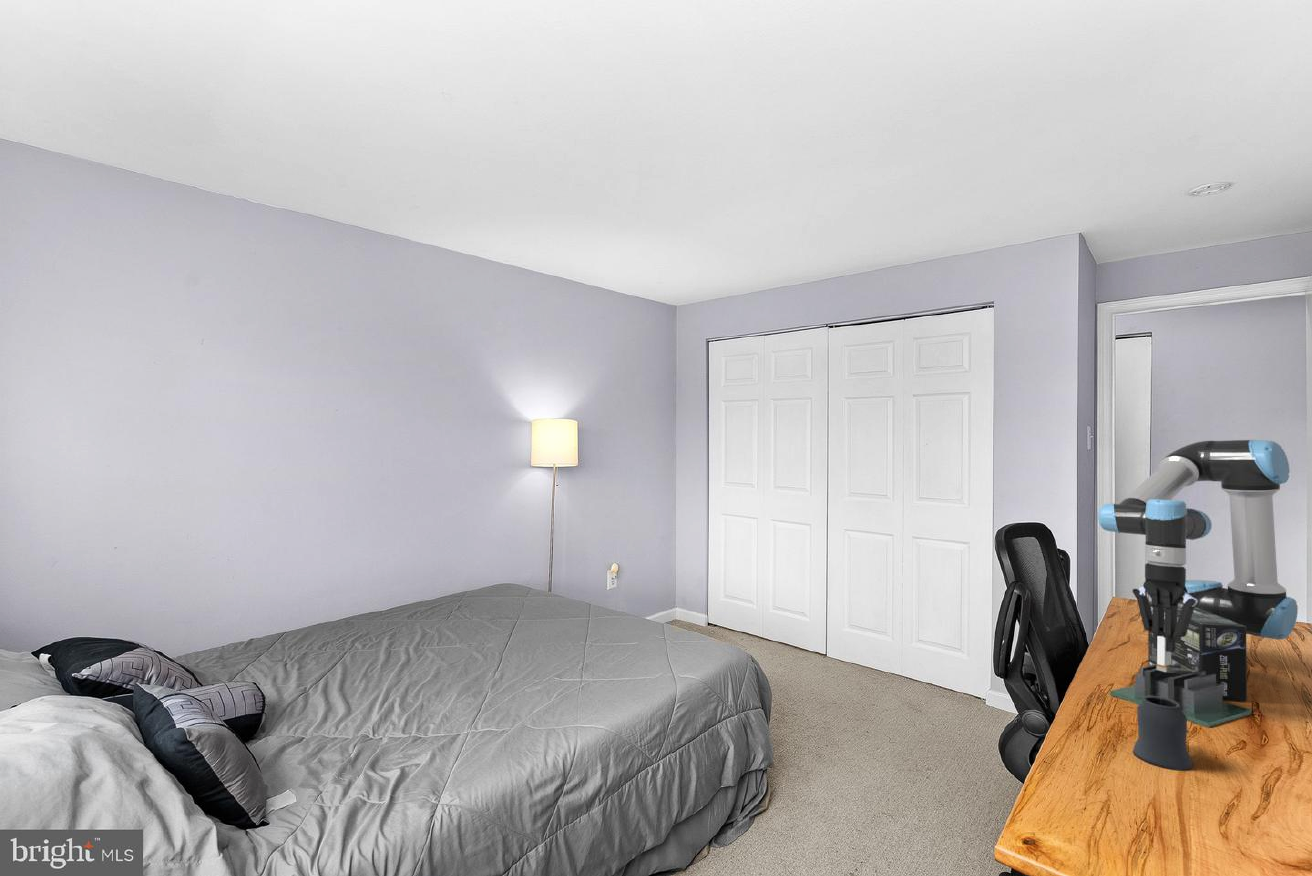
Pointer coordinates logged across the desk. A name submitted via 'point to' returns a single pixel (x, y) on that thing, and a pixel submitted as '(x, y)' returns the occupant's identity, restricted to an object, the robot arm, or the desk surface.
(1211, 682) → the heatsink
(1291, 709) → the desk surface
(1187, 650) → the box
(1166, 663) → the robot arm
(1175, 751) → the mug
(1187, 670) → the strap
